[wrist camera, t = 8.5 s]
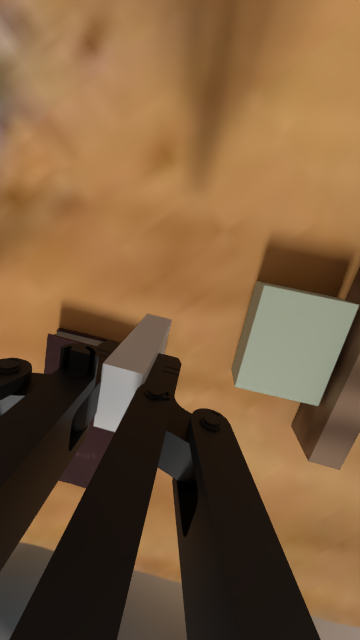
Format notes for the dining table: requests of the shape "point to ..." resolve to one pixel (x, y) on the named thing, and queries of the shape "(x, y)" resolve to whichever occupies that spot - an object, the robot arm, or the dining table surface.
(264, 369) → the block
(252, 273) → the dining table surface
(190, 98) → the dining table surface
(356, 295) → the board
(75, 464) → the book
